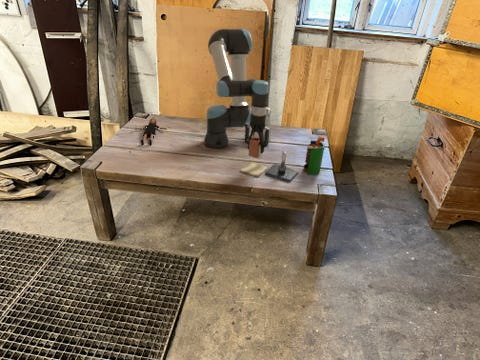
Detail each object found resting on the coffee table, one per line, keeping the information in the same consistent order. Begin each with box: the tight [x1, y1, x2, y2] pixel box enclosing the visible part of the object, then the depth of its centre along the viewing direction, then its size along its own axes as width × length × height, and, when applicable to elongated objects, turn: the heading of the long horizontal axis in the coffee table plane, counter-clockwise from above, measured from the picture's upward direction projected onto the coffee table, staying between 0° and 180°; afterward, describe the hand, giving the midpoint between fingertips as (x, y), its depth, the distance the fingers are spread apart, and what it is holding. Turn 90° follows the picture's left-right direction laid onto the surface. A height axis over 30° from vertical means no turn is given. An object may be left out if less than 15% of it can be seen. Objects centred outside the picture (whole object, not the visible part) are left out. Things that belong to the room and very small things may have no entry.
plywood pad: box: [239, 161, 269, 178], centre depth 172 cm, size 11×11×1 cm
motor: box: [302, 135, 326, 176], centre depth 170 cm, size 10×9×20 cm
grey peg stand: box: [264, 151, 299, 183], centre depth 167 cm, size 14×11×12 cm
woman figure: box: [133, 117, 167, 146], centre depth 205 cm, size 20×6×35 cm
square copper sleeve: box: [248, 137, 260, 159], centre depth 165 cm, size 5×5×9 cm
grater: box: [254, 106, 272, 143], centre depth 204 cm, size 10×10×20 cm
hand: (255, 156), depth 168 cm, fingers closed on square copper sleeve, 5 cm apart
